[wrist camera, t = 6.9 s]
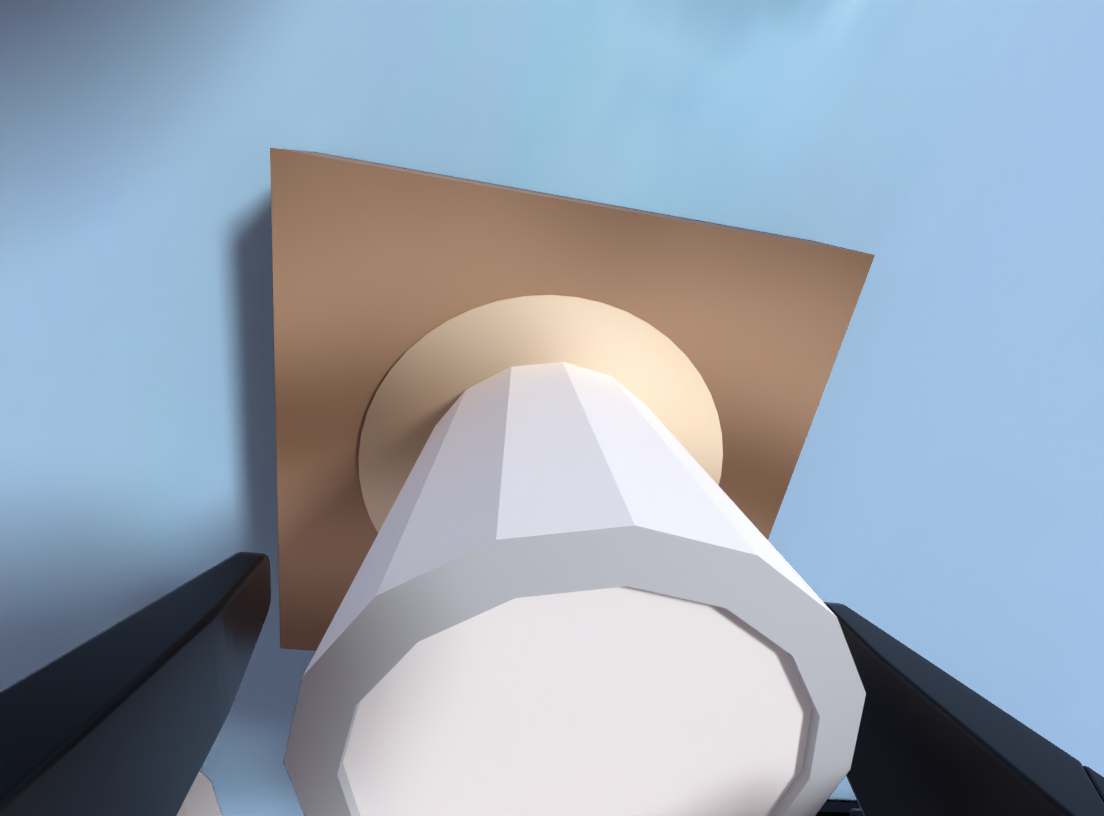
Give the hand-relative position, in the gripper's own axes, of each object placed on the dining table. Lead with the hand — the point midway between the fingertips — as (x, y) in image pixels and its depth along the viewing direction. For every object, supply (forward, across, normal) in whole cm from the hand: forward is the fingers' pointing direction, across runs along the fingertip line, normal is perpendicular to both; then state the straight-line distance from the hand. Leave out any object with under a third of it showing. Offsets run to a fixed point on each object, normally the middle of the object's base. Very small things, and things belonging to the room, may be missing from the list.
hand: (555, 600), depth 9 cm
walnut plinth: (+7, 0, 0) cm, 7 cm away
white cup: (+4, 0, 0) cm, 4 cm away
